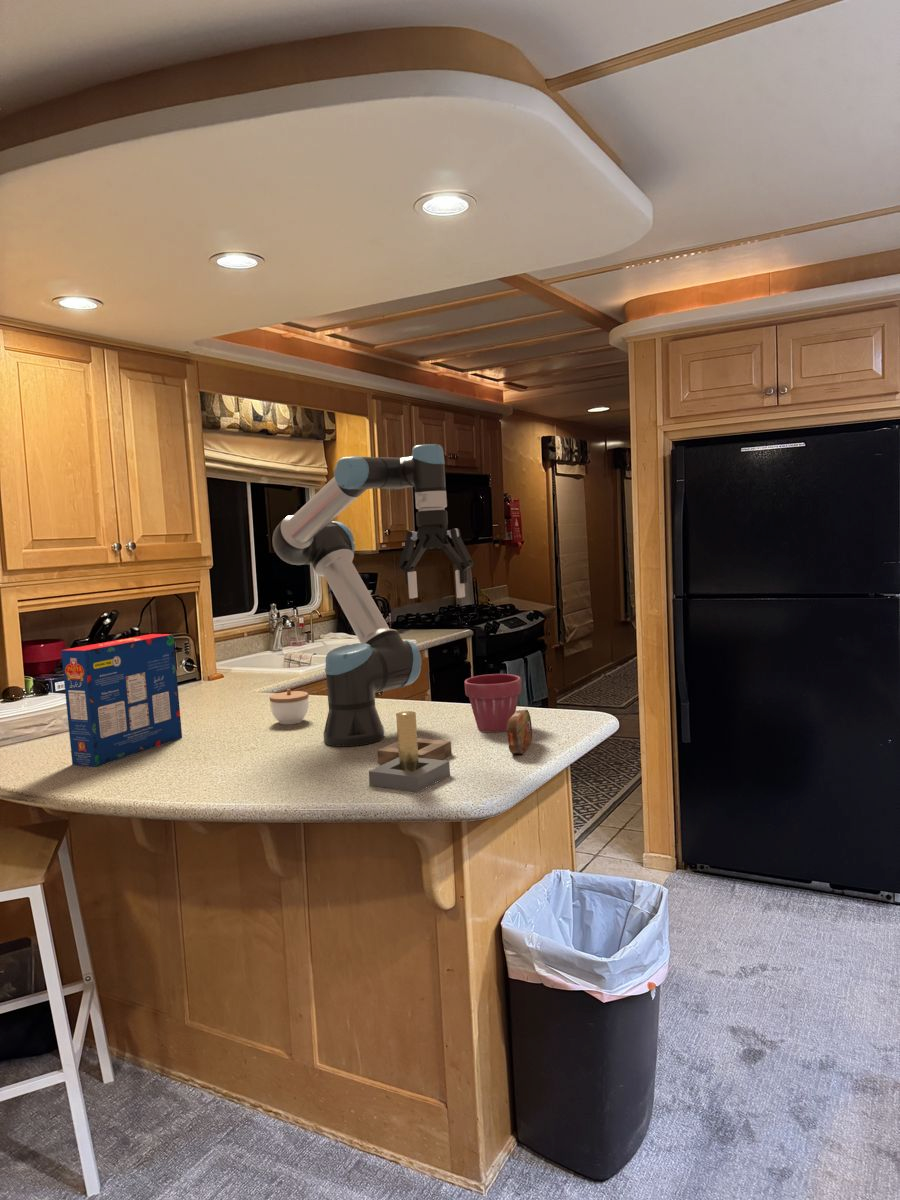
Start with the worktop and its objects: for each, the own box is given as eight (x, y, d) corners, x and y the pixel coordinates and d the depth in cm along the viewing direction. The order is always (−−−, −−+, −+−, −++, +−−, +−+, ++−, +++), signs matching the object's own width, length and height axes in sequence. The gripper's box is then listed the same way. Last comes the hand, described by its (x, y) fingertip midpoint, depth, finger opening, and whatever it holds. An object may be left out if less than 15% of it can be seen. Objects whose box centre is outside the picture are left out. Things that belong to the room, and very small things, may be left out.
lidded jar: (318, 719, 234) (315, 686, 233) (291, 728, 225) (289, 694, 224) (290, 716, 240) (287, 684, 239) (263, 725, 231) (260, 691, 230)
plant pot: (461, 735, 206) (458, 684, 205) (473, 721, 220) (470, 674, 218) (518, 735, 202) (515, 683, 201) (527, 721, 216) (524, 673, 215)
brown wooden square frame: (378, 763, 185) (377, 750, 184) (408, 749, 195) (407, 737, 195) (423, 768, 178) (422, 755, 178) (451, 754, 189) (450, 741, 188)
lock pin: (396, 782, 170) (392, 715, 169) (407, 776, 173) (403, 710, 172) (412, 784, 168) (408, 716, 167) (423, 778, 171) (419, 711, 170)
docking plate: (369, 785, 169) (368, 771, 168) (402, 769, 179) (401, 755, 179) (418, 792, 162) (417, 777, 162) (450, 775, 173) (449, 760, 172)
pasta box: (160, 736, 224) (150, 634, 222) (182, 737, 221) (173, 634, 219) (72, 764, 199) (61, 650, 197) (95, 767, 196) (84, 650, 194)
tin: (520, 758, 182) (518, 721, 181) (506, 758, 183) (504, 720, 182) (533, 741, 196) (532, 706, 196) (520, 740, 197) (519, 706, 197)
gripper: (380, 513, 202) (385, 599, 204) (468, 506, 189) (474, 598, 191) (397, 512, 209) (403, 596, 210) (484, 506, 196) (489, 595, 197)
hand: (436, 597), depth 201 cm, fingers open, 13 cm apart
